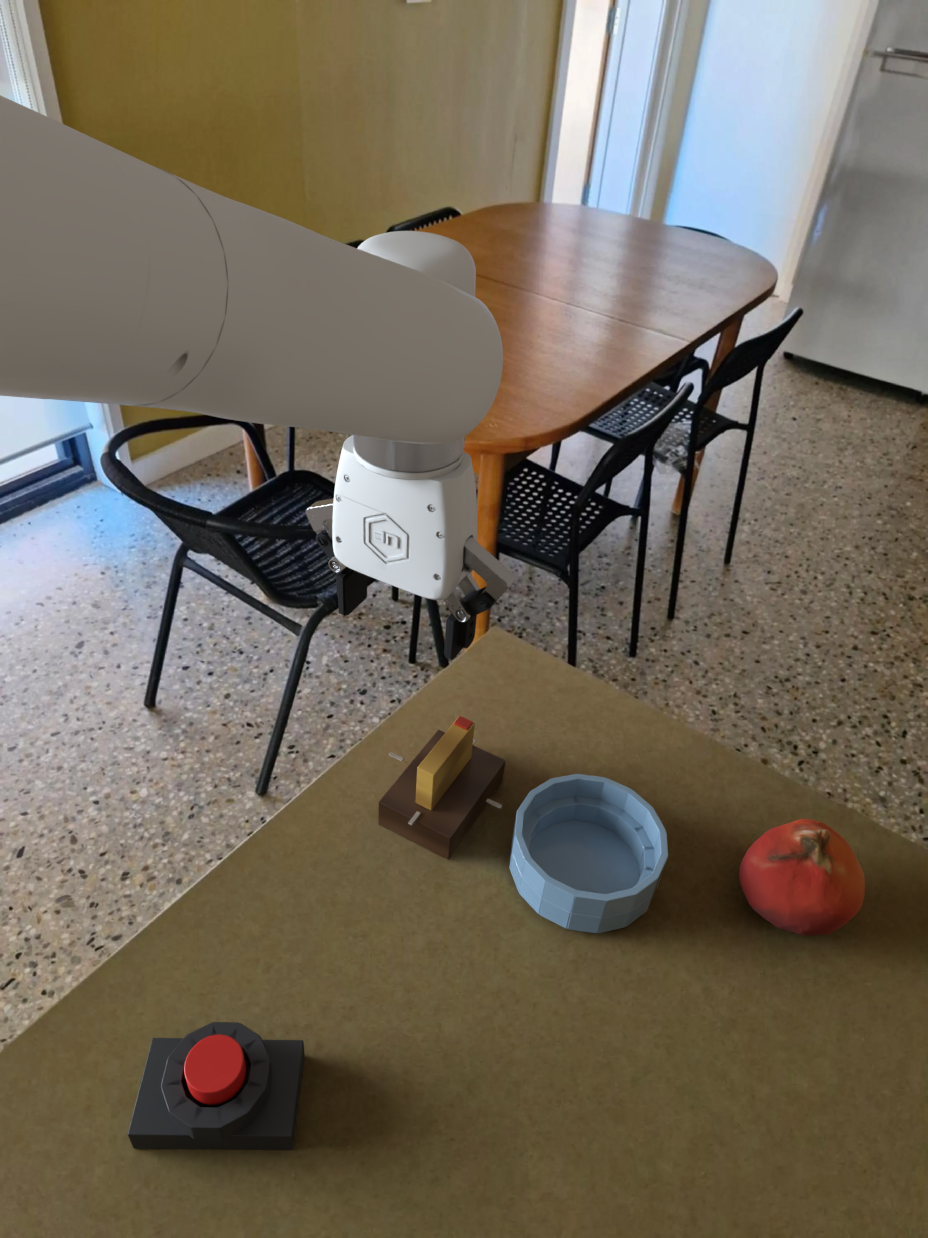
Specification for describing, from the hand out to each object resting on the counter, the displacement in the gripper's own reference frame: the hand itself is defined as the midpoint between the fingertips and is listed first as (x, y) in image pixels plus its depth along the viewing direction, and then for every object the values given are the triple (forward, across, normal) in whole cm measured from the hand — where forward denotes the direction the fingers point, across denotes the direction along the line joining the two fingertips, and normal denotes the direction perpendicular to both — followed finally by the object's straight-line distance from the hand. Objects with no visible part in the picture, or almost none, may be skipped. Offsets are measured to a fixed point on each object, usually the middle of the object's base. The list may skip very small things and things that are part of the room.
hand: (404, 627), depth 70 cm
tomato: (+17, +35, +4) cm, 39 cm away
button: (+13, +5, -30) cm, 34 cm away
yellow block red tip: (+14, +5, -1) cm, 15 cm away
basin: (+17, +19, -1) cm, 25 cm away
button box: (+17, +5, -30) cm, 35 cm away
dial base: (+17, +5, -1) cm, 18 cm away
